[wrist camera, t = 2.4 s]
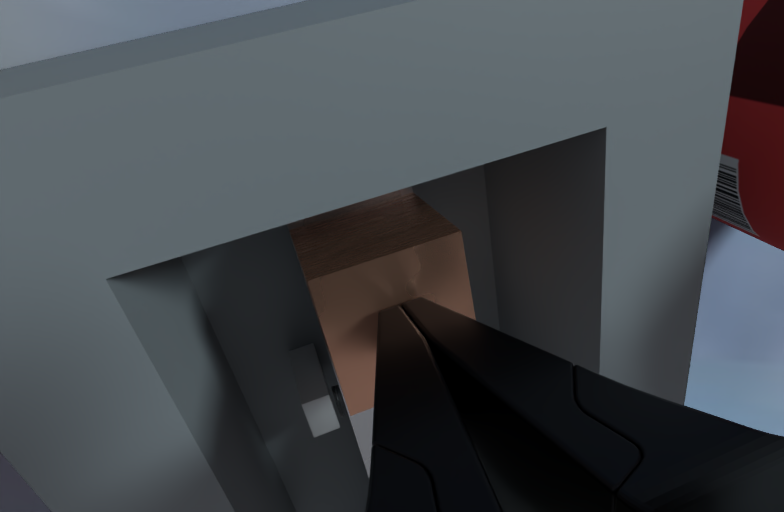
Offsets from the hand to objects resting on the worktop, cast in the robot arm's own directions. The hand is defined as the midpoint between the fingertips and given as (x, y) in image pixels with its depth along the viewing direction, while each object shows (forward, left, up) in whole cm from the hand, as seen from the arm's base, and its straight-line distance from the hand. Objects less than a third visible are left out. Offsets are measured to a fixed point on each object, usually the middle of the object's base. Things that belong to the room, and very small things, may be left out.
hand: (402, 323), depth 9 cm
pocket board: (-7, 0, -5) cm, 8 cm away
